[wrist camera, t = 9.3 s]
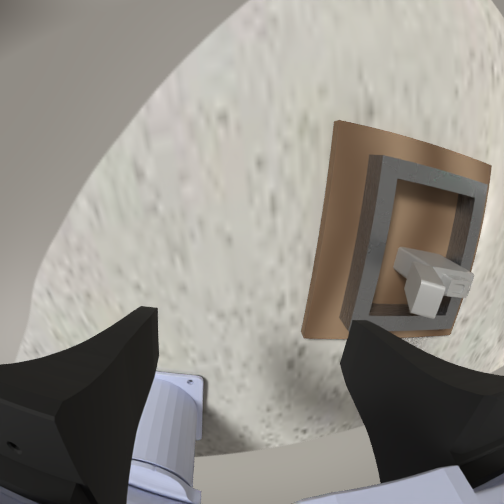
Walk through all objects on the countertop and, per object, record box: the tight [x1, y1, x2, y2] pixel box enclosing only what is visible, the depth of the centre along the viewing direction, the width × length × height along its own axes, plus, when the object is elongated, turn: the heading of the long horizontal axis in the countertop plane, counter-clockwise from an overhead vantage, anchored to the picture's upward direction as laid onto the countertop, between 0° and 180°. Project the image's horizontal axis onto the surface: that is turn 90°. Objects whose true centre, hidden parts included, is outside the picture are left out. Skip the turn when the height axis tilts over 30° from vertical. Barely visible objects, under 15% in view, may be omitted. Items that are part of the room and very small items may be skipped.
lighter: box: [393, 247, 474, 319], centre depth 17 cm, size 7×2×8 cm, turn 80°
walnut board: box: [301, 120, 492, 339], centre depth 21 cm, size 14×15×1 cm
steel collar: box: [339, 154, 488, 332], centre depth 20 cm, size 9×11×2 cm
